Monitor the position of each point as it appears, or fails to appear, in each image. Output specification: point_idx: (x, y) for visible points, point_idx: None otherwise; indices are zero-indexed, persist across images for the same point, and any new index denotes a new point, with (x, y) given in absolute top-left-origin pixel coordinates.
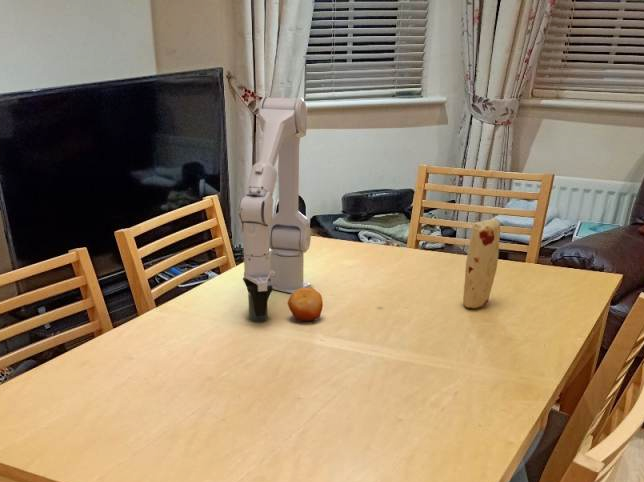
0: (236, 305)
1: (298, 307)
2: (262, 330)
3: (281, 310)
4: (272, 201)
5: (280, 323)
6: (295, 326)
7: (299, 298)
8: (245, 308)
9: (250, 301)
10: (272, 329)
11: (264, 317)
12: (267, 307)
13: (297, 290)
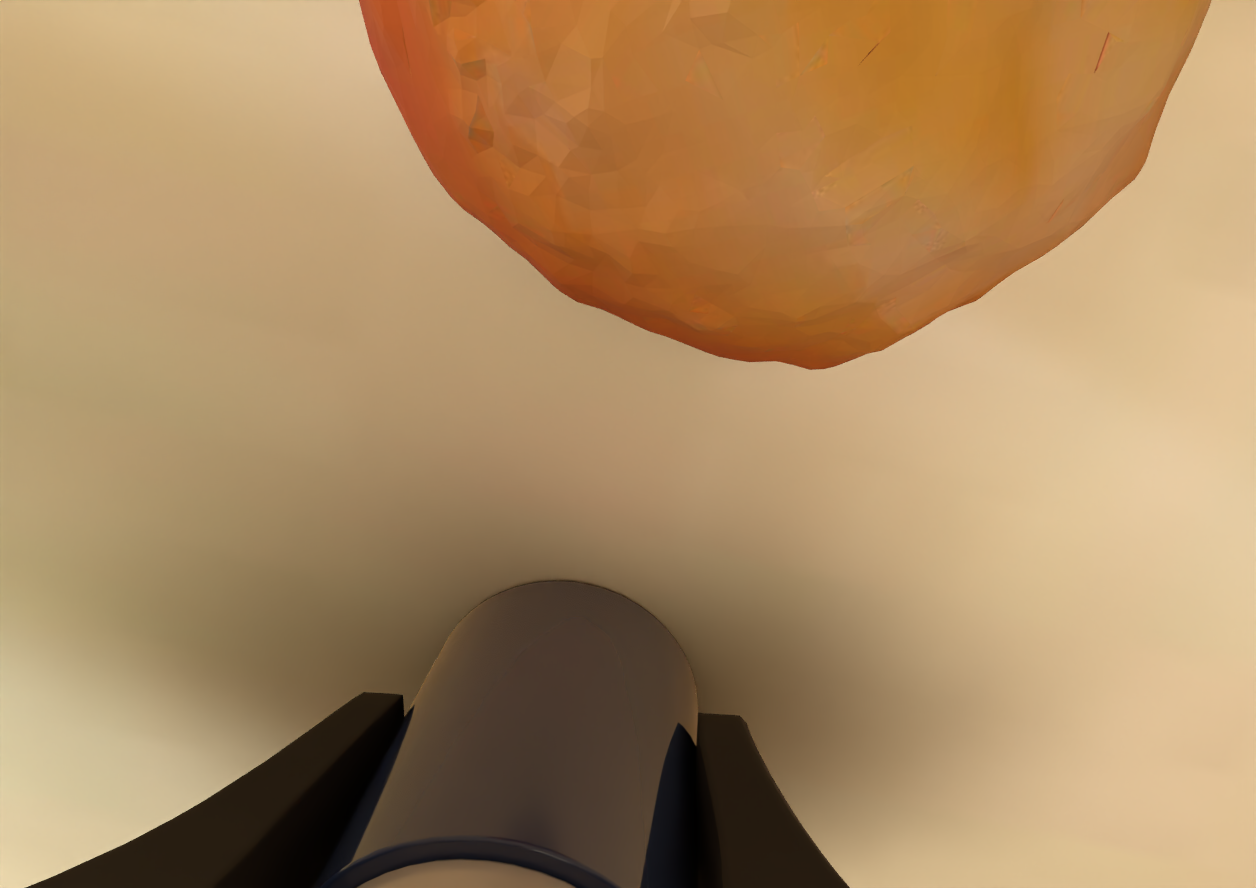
0: (25, 842)
1: (1120, 183)
2: (1018, 747)
3: (285, 308)
4: None
5: (837, 454)
6: (1048, 254)
7: (1021, 100)
8: (145, 767)
9: None
10: (1034, 617)
11: (684, 678)
12: (587, 683)
13: (659, 61)
